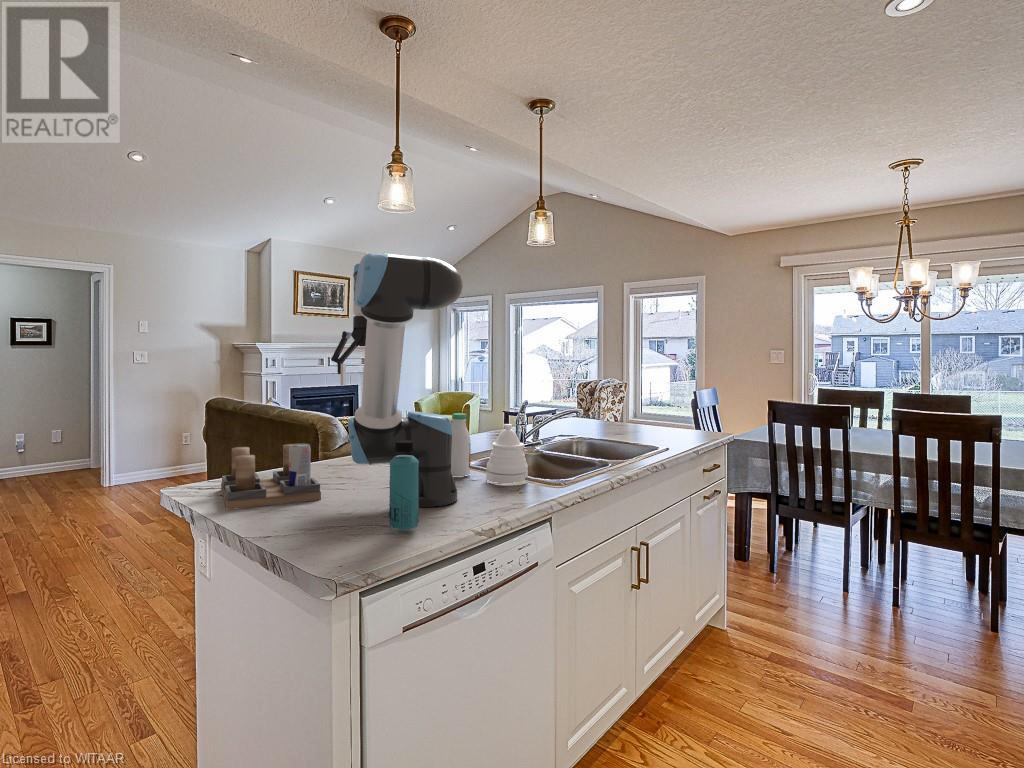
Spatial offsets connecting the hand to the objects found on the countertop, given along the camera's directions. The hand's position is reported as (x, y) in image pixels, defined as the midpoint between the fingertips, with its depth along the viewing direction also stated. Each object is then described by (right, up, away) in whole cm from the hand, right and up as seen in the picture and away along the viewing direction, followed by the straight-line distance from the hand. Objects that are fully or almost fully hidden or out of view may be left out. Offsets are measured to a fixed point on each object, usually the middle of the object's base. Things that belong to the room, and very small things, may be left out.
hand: (365, 385), depth 168 cm
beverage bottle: (+21, -32, -48) cm, 62 cm away
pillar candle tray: (-21, -29, -20) cm, 41 cm away
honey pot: (+43, -30, +2) cm, 53 cm away
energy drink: (-12, -28, -22) cm, 37 cm away
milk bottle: (+27, -29, +9) cm, 41 cm away
